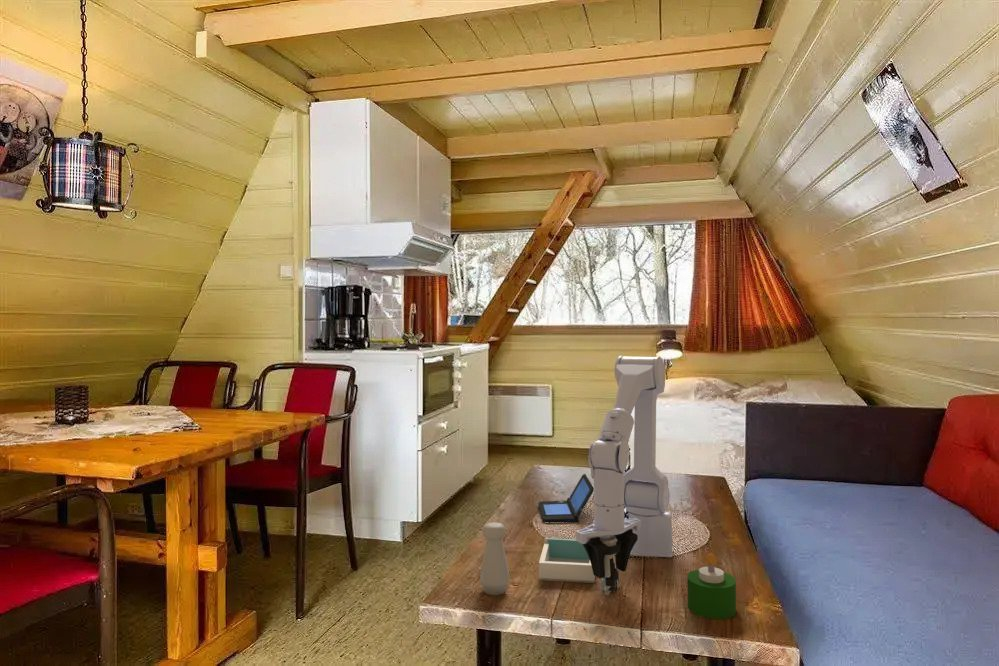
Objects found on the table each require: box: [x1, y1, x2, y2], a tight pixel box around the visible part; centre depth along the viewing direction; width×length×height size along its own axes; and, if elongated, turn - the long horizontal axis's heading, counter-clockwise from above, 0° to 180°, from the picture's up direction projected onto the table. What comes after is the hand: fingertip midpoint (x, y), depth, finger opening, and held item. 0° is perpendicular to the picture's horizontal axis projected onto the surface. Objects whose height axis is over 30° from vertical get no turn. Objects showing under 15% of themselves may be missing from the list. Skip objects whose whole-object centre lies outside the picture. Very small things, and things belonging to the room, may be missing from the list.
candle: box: [686, 552, 737, 620], centre depth 113 cm, size 8×8×10 cm
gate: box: [543, 537, 590, 560], centre depth 137 cm, size 11×1×4 cm, turn 78°
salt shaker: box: [479, 522, 511, 596], centre depth 122 cm, size 6×6×13 cm
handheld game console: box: [537, 473, 594, 524], centre depth 169 cm, size 16×13×9 cm
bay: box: [538, 543, 596, 584], centre depth 131 cm, size 11×11×4 cm
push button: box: [600, 535, 621, 596], centre depth 121 cm, size 7×5×10 cm
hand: (609, 572), depth 121 cm, fingers closed on push button, 5 cm apart
